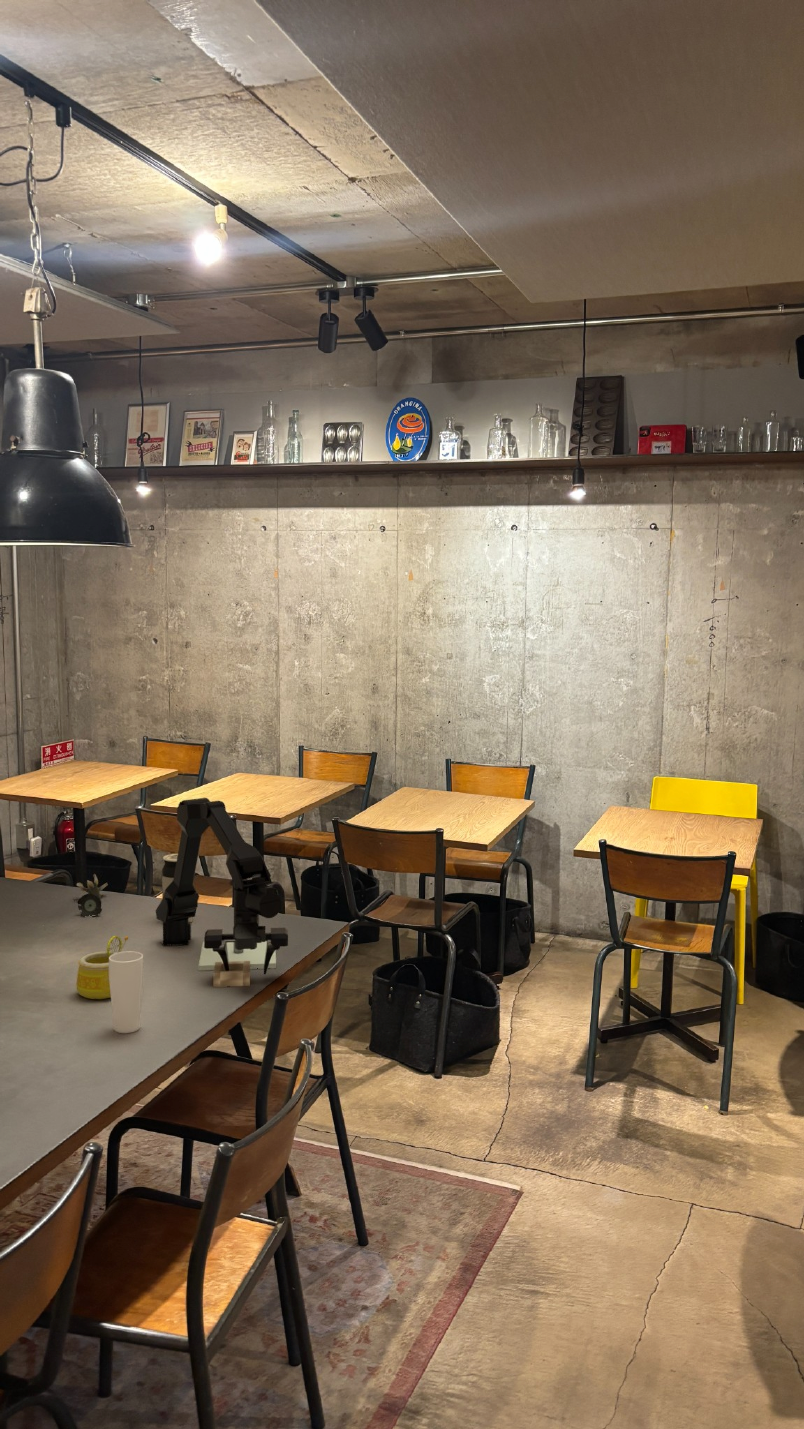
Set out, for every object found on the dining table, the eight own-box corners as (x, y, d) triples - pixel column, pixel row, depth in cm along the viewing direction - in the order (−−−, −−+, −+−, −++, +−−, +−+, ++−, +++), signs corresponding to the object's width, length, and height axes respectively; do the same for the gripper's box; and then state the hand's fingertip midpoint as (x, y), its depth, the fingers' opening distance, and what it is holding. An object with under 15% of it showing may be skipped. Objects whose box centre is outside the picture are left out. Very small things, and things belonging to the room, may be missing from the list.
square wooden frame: (213, 987, 231) (213, 974, 230) (215, 974, 238) (215, 962, 238) (249, 985, 232) (249, 972, 231) (250, 973, 240) (250, 960, 239)
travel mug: (197, 919, 281) (197, 854, 280) (185, 927, 274) (184, 861, 272) (170, 916, 283) (170, 852, 281) (157, 925, 275) (156, 859, 274)
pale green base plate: (198, 970, 241) (198, 949, 240) (203, 946, 259) (203, 926, 258) (276, 968, 243) (276, 947, 243) (275, 944, 261) (275, 924, 261)
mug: (84, 1006, 219) (83, 951, 217) (71, 989, 228) (70, 937, 227) (143, 995, 225) (143, 941, 224) (128, 979, 235) (127, 928, 233)
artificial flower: (72, 923, 281) (62, 888, 281) (88, 909, 303) (79, 876, 303) (104, 914, 282) (94, 878, 282) (118, 900, 304) (109, 868, 304)
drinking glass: (139, 1036, 203) (138, 962, 202) (105, 1035, 204) (103, 961, 202) (148, 1022, 210) (147, 951, 209) (115, 1022, 210) (114, 950, 209)
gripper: (202, 919, 225) (202, 988, 226) (288, 917, 227) (288, 985, 229) (205, 904, 236) (205, 971, 237) (287, 903, 238) (287, 968, 240)
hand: (246, 974), depth 235 cm, fingers open, 8 cm apart
